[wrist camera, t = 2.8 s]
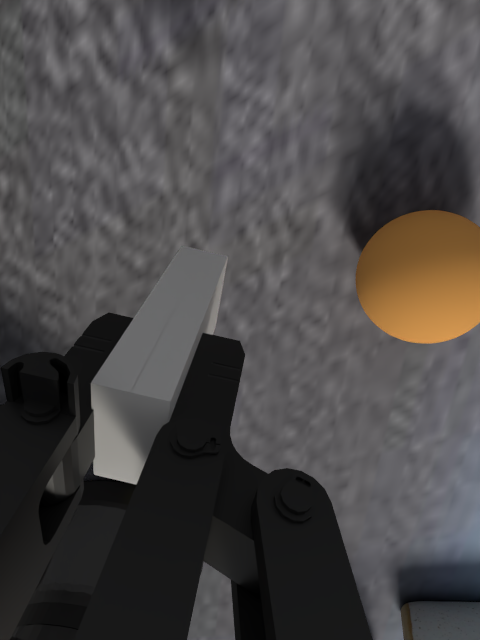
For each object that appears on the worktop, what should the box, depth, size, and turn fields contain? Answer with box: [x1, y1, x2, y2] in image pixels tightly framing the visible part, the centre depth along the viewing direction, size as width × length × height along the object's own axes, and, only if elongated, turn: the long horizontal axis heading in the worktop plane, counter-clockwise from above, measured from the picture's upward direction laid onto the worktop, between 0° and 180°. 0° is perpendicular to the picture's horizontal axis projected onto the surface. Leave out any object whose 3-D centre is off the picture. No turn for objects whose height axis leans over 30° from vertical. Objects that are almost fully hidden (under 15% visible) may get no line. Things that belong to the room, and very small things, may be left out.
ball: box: [356, 210, 480, 343], centre depth 19 cm, size 6×6×6 cm
